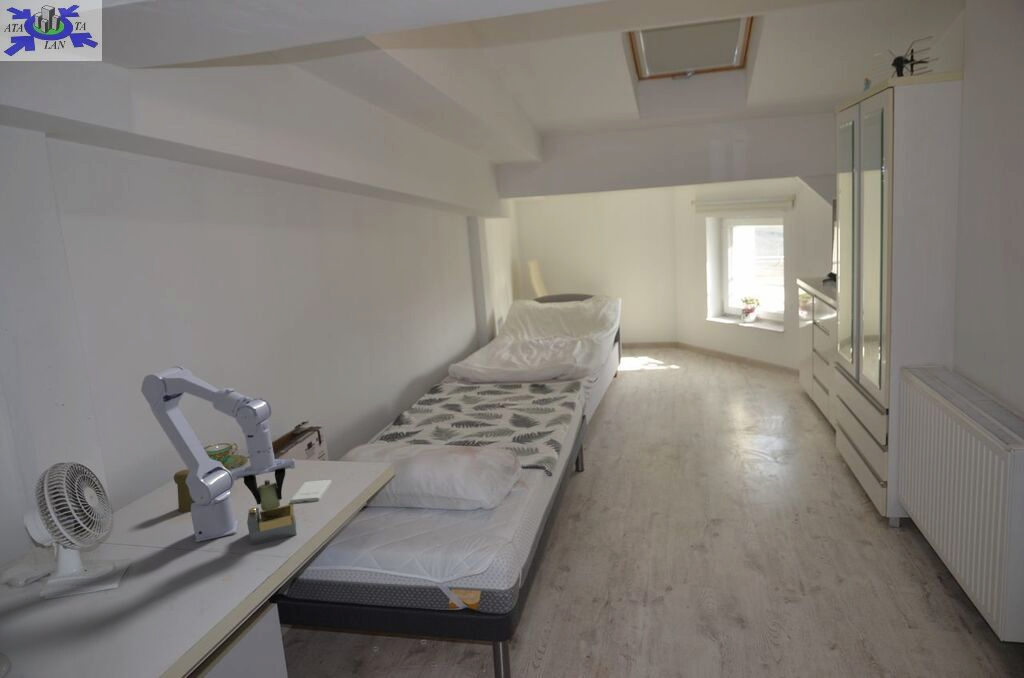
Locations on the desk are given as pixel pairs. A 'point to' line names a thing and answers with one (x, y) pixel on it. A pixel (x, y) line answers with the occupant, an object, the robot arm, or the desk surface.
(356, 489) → the desk surface
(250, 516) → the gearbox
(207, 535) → the robot arm
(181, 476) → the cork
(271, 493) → the spout can
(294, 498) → the external hard drive
